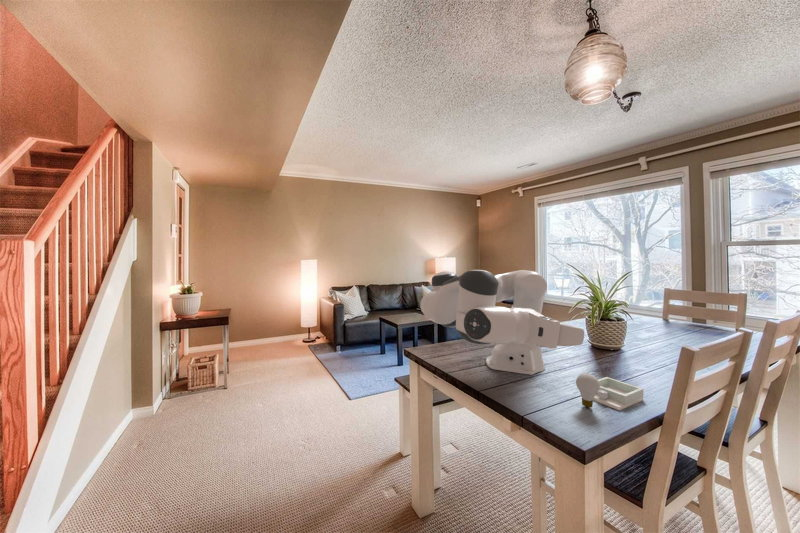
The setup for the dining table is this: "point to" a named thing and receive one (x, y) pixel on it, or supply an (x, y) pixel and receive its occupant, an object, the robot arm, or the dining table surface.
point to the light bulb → (587, 388)
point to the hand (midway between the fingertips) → (559, 326)
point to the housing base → (617, 393)
